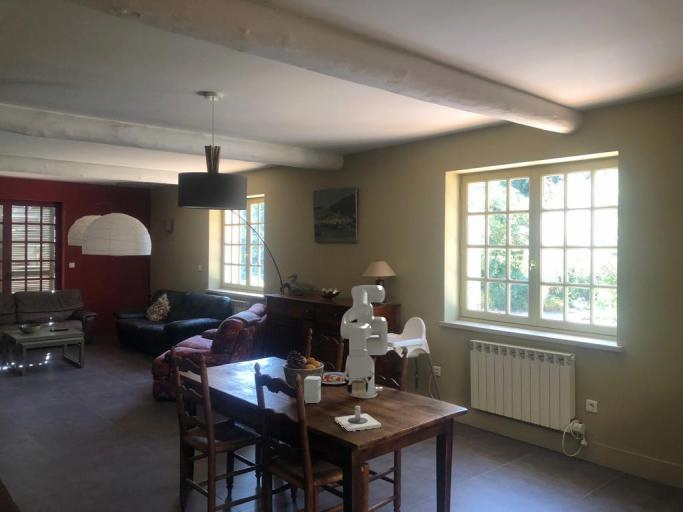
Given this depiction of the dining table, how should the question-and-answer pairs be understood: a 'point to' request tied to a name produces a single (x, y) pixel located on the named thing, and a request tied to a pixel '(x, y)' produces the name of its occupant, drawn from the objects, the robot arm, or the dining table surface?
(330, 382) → the ceramic plate
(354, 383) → the beech collar
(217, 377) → the dining table surface
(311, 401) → the supplement box
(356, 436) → the dining table surface
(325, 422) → the dining table surface
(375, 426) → the steel post stand
